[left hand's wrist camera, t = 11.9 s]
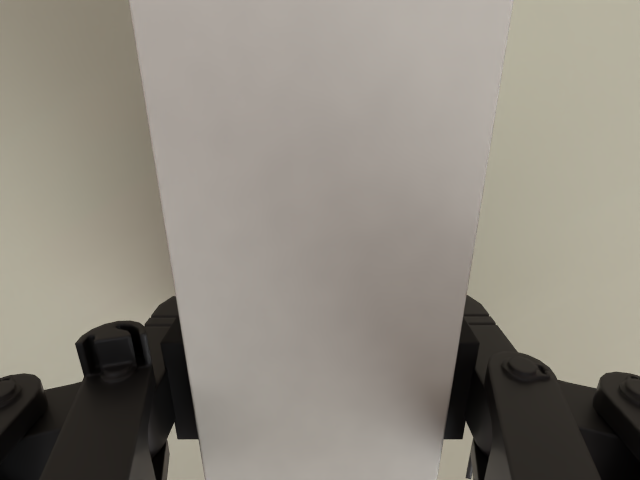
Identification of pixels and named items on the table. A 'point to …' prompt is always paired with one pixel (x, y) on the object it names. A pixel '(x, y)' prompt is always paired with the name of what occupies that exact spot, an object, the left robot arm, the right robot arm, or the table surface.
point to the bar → (321, 220)
